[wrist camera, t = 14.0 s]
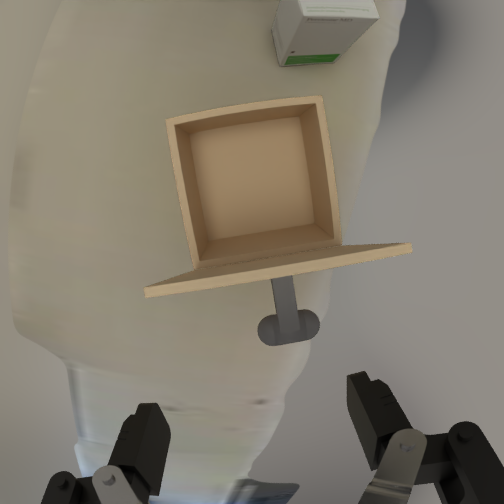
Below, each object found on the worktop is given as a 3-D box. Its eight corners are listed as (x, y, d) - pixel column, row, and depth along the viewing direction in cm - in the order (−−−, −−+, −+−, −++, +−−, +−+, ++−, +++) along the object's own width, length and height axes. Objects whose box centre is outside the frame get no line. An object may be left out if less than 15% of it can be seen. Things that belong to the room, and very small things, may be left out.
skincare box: (278, 67, 36) (298, 18, 21) (269, 27, 34) (283, -33, 19) (337, 63, 36) (382, 20, 21) (327, 24, 34) (364, -29, 19)
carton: (183, 129, 38) (165, 119, 28) (303, 111, 38) (321, 95, 28) (204, 245, 42) (194, 269, 33) (319, 226, 42) (342, 245, 33)
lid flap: (143, 287, 17) (162, 371, 17) (411, 242, 17) (418, 325, 17) (195, 269, 33) (203, 317, 33) (341, 245, 33) (348, 292, 33)
